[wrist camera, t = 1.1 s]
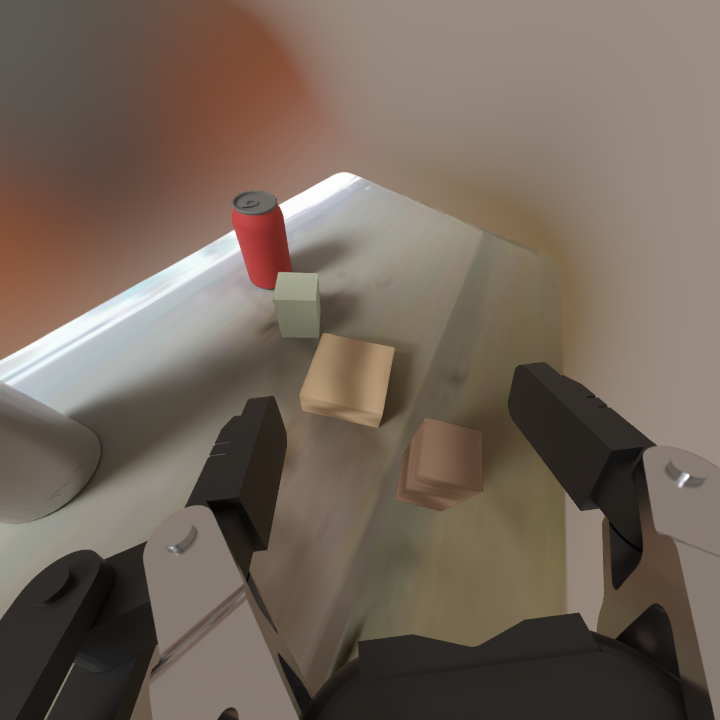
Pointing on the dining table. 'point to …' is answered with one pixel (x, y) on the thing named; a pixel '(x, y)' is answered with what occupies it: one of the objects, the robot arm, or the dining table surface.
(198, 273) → the dining table surface
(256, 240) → the beer can
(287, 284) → the sage green block
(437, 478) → the walnut pillar
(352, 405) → the oak base block
